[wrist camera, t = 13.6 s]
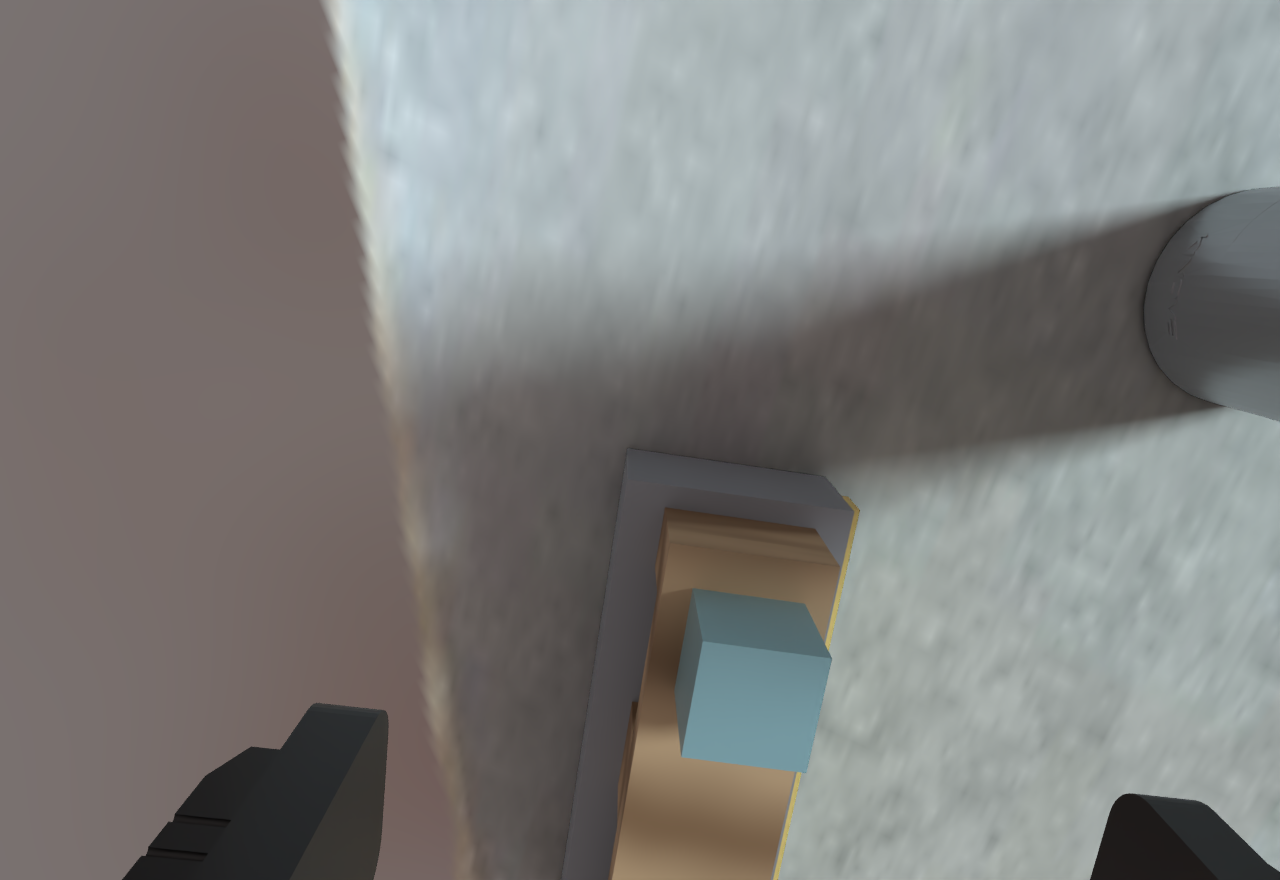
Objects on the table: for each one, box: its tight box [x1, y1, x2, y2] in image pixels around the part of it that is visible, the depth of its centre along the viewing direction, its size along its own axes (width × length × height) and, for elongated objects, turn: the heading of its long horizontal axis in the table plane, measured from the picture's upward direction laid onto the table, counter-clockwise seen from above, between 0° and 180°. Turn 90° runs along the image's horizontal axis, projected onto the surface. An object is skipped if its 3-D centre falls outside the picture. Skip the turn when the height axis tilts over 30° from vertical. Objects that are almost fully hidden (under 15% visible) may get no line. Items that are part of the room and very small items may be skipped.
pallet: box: [608, 507, 840, 880], centre depth 33 cm, size 21×6×4 cm, turn 171°
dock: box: [561, 448, 860, 880], centre depth 38 cm, size 9×23×5 cm, turn 171°
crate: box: [674, 588, 832, 773], centre depth 28 cm, size 4×4×4 cm
